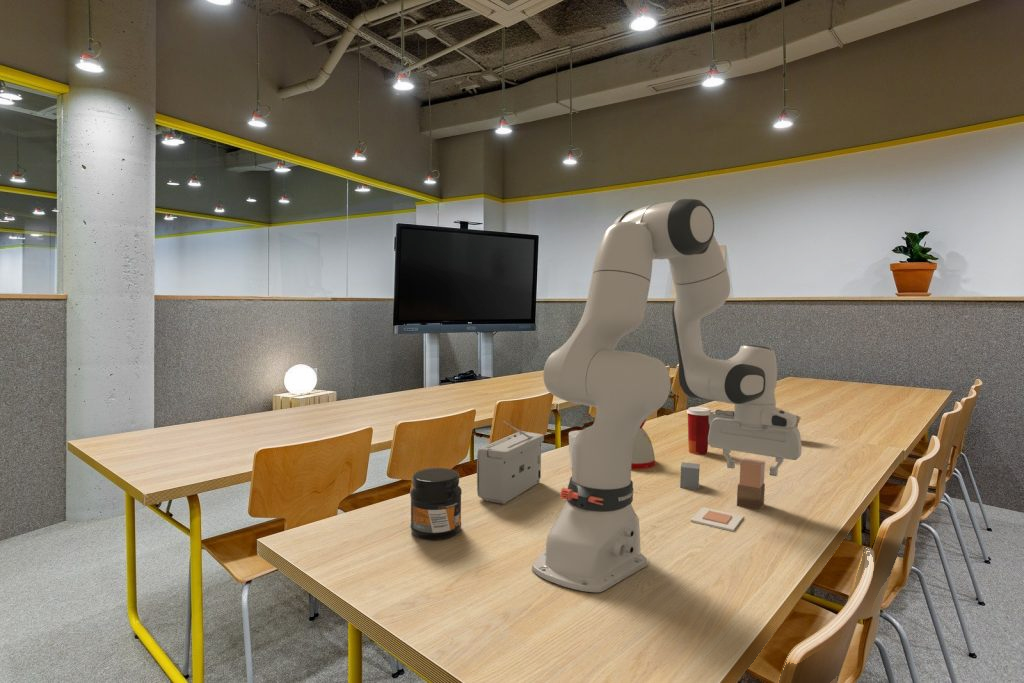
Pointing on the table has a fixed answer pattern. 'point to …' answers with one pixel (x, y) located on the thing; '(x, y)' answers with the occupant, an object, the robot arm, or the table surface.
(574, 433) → the white cup
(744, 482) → the salmon orange block
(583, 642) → the table surface
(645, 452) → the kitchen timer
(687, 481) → the grey block
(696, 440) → the paper cup
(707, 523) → the tile
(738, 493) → the walnut block
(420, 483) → the supplement container
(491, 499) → the stereo radio cassette player
